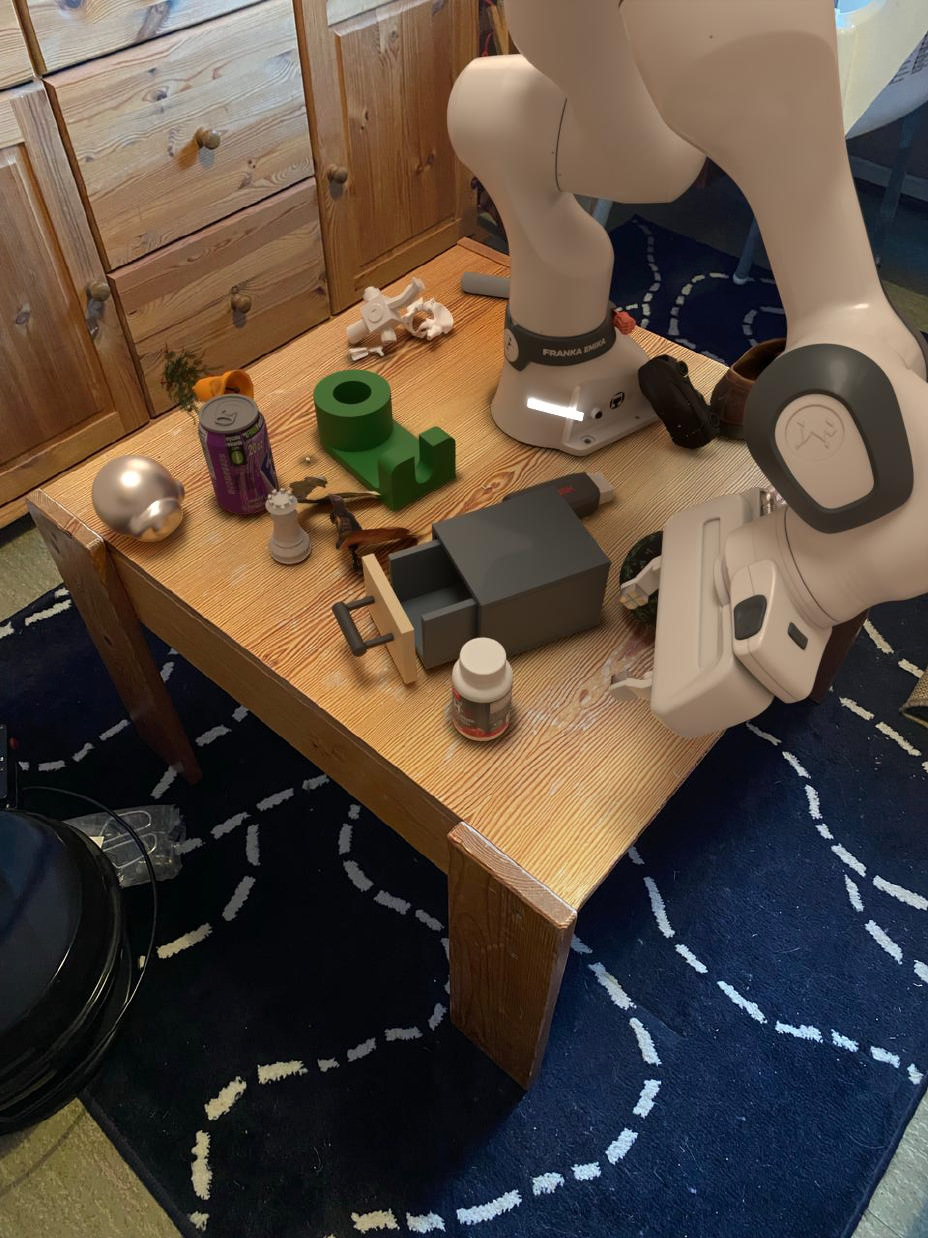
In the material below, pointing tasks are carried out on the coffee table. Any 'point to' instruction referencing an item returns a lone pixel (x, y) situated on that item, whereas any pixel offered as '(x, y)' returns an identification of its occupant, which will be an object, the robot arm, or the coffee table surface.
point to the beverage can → (237, 453)
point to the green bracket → (379, 439)
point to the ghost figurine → (138, 498)
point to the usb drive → (576, 491)
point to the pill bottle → (481, 690)
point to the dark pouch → (677, 402)
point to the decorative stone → (634, 565)
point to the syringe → (363, 352)
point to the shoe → (741, 386)
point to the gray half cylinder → (486, 284)
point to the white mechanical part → (383, 313)
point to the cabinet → (528, 569)
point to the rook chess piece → (286, 529)
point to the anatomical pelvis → (434, 326)
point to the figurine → (347, 519)
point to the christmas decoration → (203, 382)
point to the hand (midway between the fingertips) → (619, 642)
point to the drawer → (414, 609)
